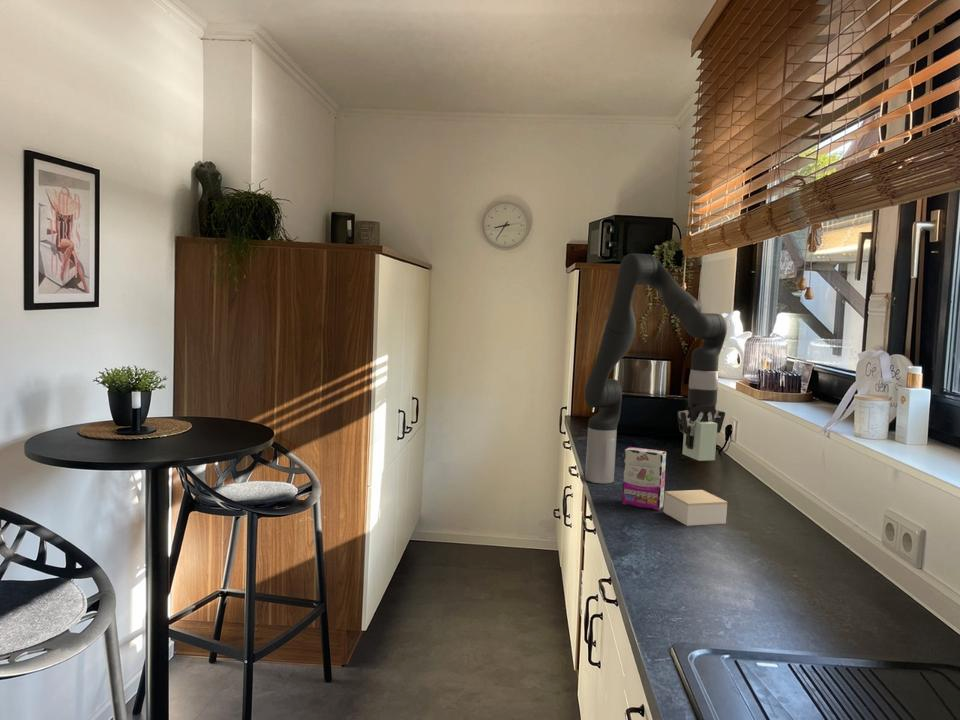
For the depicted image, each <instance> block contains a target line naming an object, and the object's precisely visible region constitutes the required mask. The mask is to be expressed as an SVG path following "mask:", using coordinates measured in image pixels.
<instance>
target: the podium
mask: <svg viewBox="0 0 960 720" xmlns="http://www.w3.org/2000/svg"><path fill="white" fill-rule="evenodd" d="M727 511H728V501H726V500H724V499H722V498H721V497H718V496H717V495H715V494H712V493H709V492H708V491H706V490H703V489H690V490H689V489H688V490H687V489H686V490H670V491H669V490H664V502H663V513H664V514H666V515H667V516H670V517H671V518H672V519H674V520H676V521H678V522H680V523H681V524H683V525H685V526H687V527H688V526H704V525H706V526H707V525H720V524H721V525H724V524H726V523H727Z"/></svg>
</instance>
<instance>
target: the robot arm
mask: <svg viewBox="0 0 960 720" xmlns="http://www.w3.org/2000/svg"><path fill="white" fill-rule="evenodd" d="M617 272H618V274H617V278H616V283H615V289H614V293H613V299H612V303H611V306H610V310H609V314H608V317H607V321H606V324H605V328H604V330H603V334H602V339H601V342H600V346H599V349H598V351H597V355H596V357H595V361H594V363H593V366H592V368H591V372H590V373H589V376H588V379H587V382H586V384H585V387H584V400H585V403H586V405H587V406H588V407H590V408H594V409H596V408H597V409H598V408H600V410H599V411H598V412H597V413H596V414H594V415H593V416H591V417H589V419H588V421H587V422H588V424H587V440H586V441H587V442H586V455H585V472H584V474H585V475H584V478H585V481H586V482H590V483H593V484H594V483H595V484H611V483H614V482H615V469H616V466H615V465H616V448H617V435H618V434H617V430H618V424H619V422H620V416H621V408H622V400H623V390H622V386H621V384H620V382H619V381H618V380H617V379H616V378H609V376H610V374H611V372H612V370H613V369H614V367H615V366H617V364H618V363H619V362H620V361H621V359H623V358H624V357H625V355H626V354H627V353H628V352H629V350H630V348H631V347H632V345H633V342H634V341H633V340H634V338H635V334H636V331H637V321H636V316H635V312H634V308H633V297H634V293H635V289H636V287H637V285H639V286H647V285H648V286H650V287H652V288H653V289H655V290H657V291H658V292H659V293H660V295H661V299H662V302H663V303H664V306H665V308H667V310H668V311H670V312H671V314H673V315H674V316H675V317H676V318H677V319H679V320H680V322H681V324H682V326H683V327H684V329H685V331H686V333H688V335H689V336H691V337H692V338H694V339H697V340H703V341H702V344H701V346H699V347H697V348H694V349H693V350H692V353H691V361H690V362H691V364H690V365H691V366H690V371H689V372H690V374H689V378H688V392H687V393H688V394H687V403H688V405H687V408H686V410H678V411H677V412H676V416H677V422H678V429H679V432H681V433H682V434H684V433H685V434H686V446H687V448H688V449H693V444H694V436H693V435H694V432H695V428H696V422H714V423H717V434H720V433H721V431H722V427H723V423H724V420H725V417H726V412H725V411H722V410H717V408H716V405H717V403H718V402H717V401H718V387H719V361H720V360H719V357H720V354H721V351H722V349H723V346H724V342H725V339H726V337H727V333H728V325H727V321H726V319H725V317H724V316H723V315H722V314H719V313H713V312H711V313H709V312H706V313H705V312H702V310H703V309H702V308H703V307H702V304H701V303H700V302H699V301H698V299H696V298H695V297H694V296H693V295H691V293H689V292H688V291H686V290H685V289H684V288H683V287H682V286H681V285H680V284H679V283H678V282H677V280H675V278H674V277H673V276H672V275H671V274H670V272H669V271H668V270H667V269H666V268H665V266H664V265H663V264H662V262H661V261H660V260H659V259H658V258H657V257H656V256H655V255H652V254H647V253H628V254H626V255H625V256H624V257H623V259H622V260H621V262H620V265H619V268H618V271H617ZM687 418H689V420H688V423H687ZM713 418H714V419H713ZM690 420H691V421H693V422H694V424H691V423H690Z"/></svg>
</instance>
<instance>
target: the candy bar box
mask: <svg viewBox="0 0 960 720" xmlns="http://www.w3.org/2000/svg"><path fill="white" fill-rule="evenodd" d="M623 457H624V459H623V477H622V492H621V493H622V494H621V505H625V506H630V507H636V508H637V507H638V508H642V509H643V508H644V509H648V510H654V511H660V510H661V509H663V508H664V496H665V484H666V483H665V482H666V481H665V480H666V461H667V451H666V450H665V451H664V450H658V449H649V448H642V447H632V446H628V447H627V448H625V449H624V456H623Z"/></svg>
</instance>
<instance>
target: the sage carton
mask: <svg viewBox="0 0 960 720" xmlns="http://www.w3.org/2000/svg"><path fill="white" fill-rule="evenodd" d="M689 418H690V417H688V418H687V423H688V420H689ZM690 423H691V424H694V422H693V421H691V420H690ZM693 436H694V444H693V449H688V448H687V446H686V434H685V433H683V441H682V455H684V456H687V457H688V458H691V459H693V460H696V461H699V462H701V461H715V460H716V450H717V449H716V448H717V439H718V438H717V436H718V433H717V423H714V421H713V422H696V428H695V432H694V435H693Z"/></svg>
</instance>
